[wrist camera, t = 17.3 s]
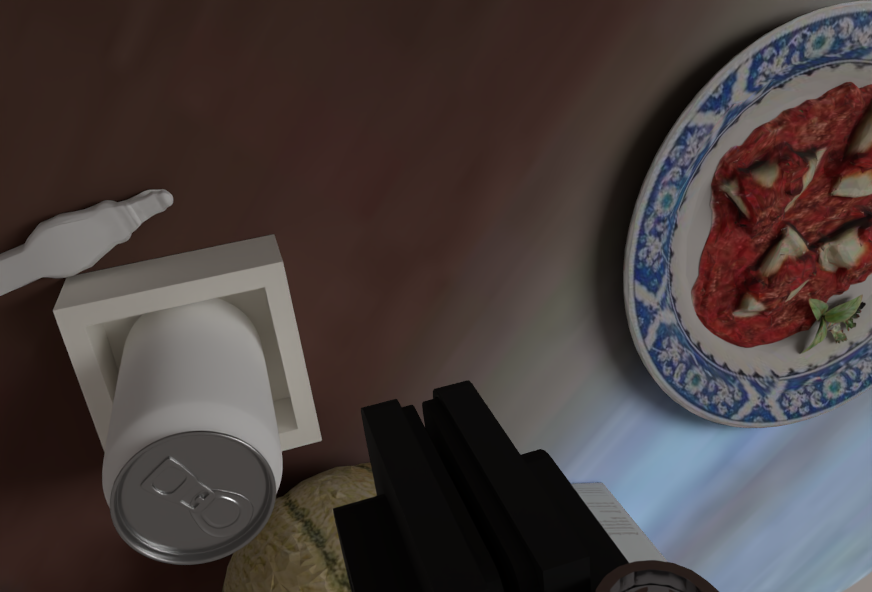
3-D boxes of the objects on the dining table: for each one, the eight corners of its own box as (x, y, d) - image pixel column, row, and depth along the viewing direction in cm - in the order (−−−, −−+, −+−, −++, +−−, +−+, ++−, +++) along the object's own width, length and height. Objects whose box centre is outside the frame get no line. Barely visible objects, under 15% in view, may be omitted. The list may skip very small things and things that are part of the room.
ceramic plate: (592, 47, 39) (621, 53, 36) (1003, -38, 44) (1055, -38, 41) (617, 458, 50) (641, 485, 47) (943, 352, 55) (981, 371, 52)
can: (200, 432, 39) (204, 602, 29) (93, 360, 36) (52, 519, 26) (288, 344, 39) (325, 484, 28) (187, 264, 36) (185, 386, 25)
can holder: (274, 234, 37) (282, 261, 34) (310, 400, 41) (322, 440, 38) (66, 276, 35) (52, 310, 32) (126, 447, 39) (120, 494, 36)
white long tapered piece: (158, 161, 35) (154, 172, 33) (189, 211, 36) (187, 224, 34) (-151, 309, 34) (-170, 328, 32) (-108, 354, 35) (-124, 375, 34)
